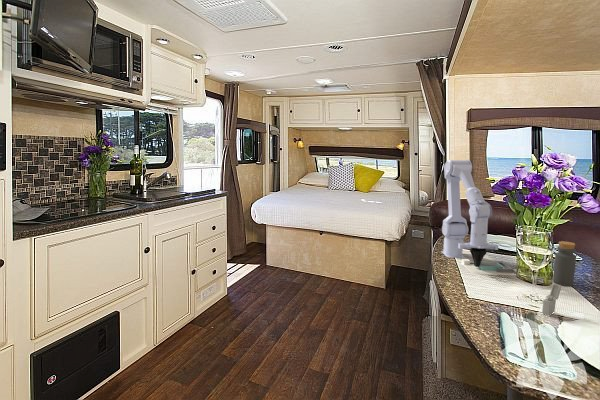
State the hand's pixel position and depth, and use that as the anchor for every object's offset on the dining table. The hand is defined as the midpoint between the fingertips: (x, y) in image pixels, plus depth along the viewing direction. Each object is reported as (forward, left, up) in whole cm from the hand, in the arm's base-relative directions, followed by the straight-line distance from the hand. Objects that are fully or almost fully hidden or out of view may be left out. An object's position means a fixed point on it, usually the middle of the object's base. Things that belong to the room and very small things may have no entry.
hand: (476, 266), depth 133 cm
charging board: (0, +4, -1) cm, 4 cm away
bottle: (+12, +25, -2) cm, 28 cm away
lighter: (+36, +7, -2) cm, 37 cm away
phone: (0, +5, -1) cm, 5 cm away
